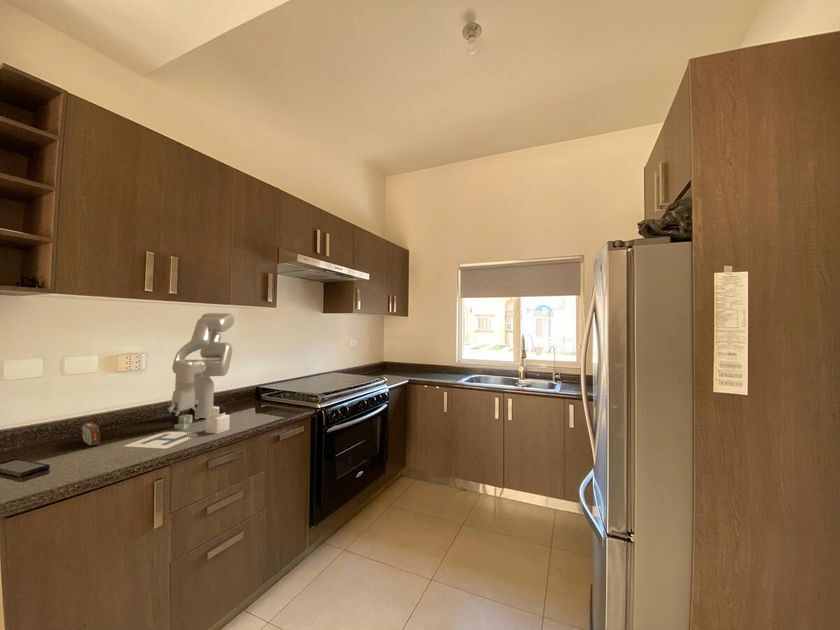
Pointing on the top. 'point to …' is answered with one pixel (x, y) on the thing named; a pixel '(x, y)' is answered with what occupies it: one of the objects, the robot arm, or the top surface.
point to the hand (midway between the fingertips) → (183, 421)
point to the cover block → (184, 422)
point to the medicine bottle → (217, 420)
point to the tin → (91, 434)
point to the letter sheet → (161, 440)
